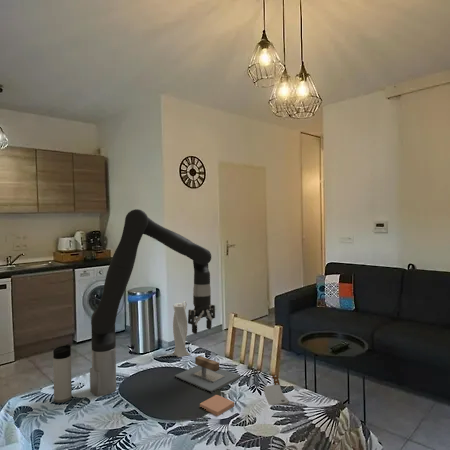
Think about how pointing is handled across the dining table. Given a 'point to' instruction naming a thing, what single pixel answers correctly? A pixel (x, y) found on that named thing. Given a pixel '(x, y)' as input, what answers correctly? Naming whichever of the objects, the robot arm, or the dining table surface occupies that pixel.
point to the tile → (217, 404)
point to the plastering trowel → (206, 373)
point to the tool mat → (206, 384)
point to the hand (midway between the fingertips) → (201, 331)
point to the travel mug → (62, 374)
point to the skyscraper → (180, 329)
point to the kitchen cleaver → (275, 393)
